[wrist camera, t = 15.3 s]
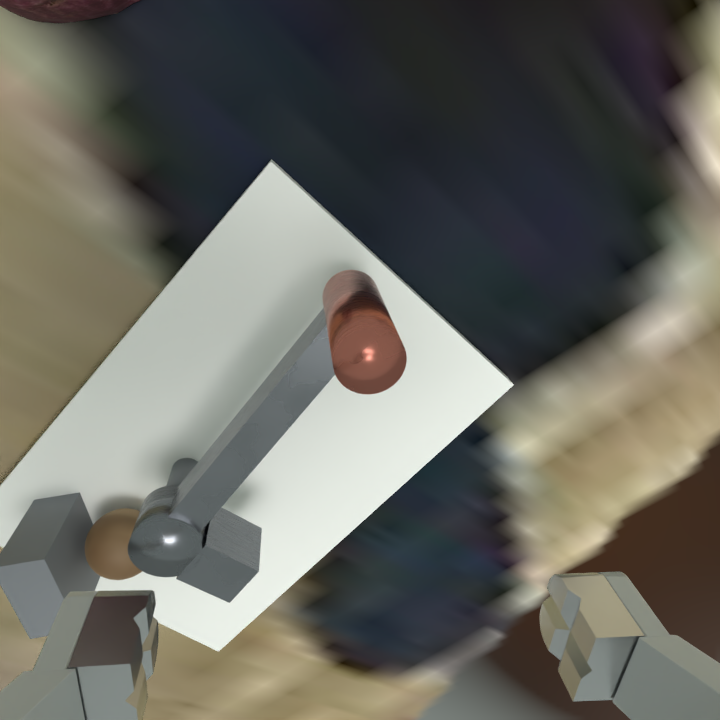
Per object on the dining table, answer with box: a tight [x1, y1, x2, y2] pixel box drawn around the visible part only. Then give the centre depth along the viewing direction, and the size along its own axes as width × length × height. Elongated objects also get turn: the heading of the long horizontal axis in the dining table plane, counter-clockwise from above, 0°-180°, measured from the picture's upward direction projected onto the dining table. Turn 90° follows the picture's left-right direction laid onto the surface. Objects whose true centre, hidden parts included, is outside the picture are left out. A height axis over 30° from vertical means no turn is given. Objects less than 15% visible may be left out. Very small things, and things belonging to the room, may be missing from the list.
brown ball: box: [85, 508, 142, 580], centre depth 37 cm, size 4×4×4 cm
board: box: [0, 159, 513, 651], centre depth 35 cm, size 32×21×7 cm, turn 136°
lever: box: [128, 270, 407, 603], centre depth 29 cm, size 20×7×8 cm, turn 140°
